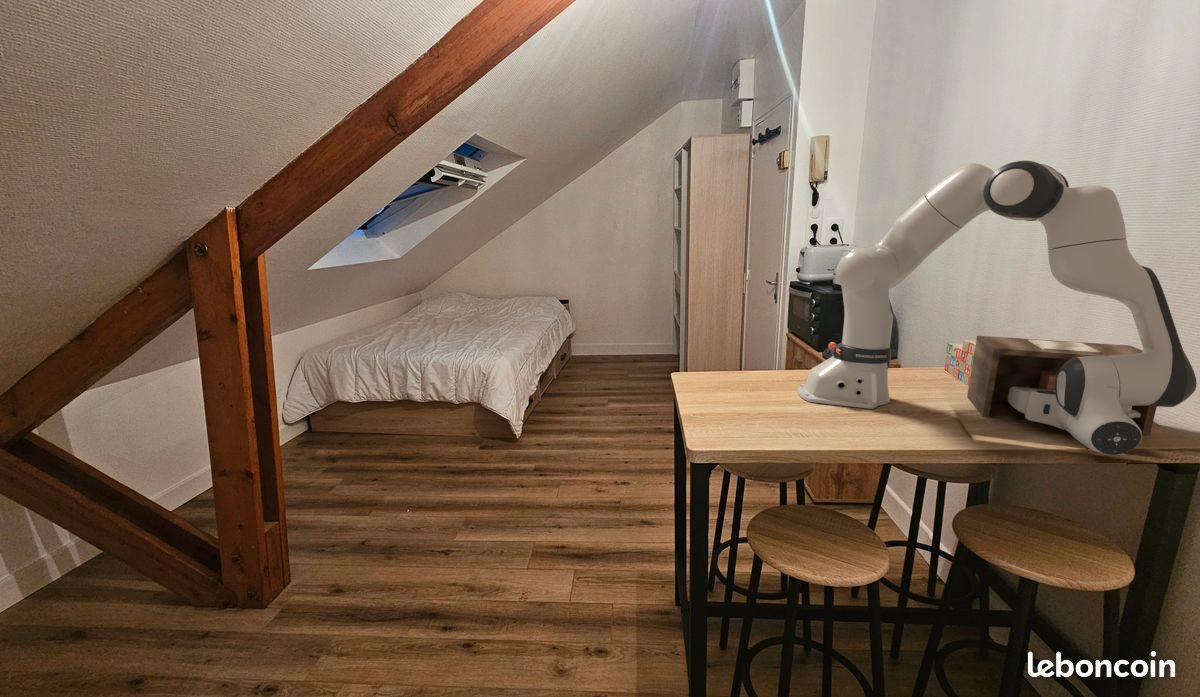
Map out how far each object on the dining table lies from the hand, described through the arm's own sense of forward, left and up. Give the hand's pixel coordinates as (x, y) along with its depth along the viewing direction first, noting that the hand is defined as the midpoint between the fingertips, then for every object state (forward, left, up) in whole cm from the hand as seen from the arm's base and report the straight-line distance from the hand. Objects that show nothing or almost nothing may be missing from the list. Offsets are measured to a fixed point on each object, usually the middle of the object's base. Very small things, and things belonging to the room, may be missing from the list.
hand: (1053, 392), depth 122 cm
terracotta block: (0, -1, -6) cm, 6 cm away
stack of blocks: (-3, +30, -7) cm, 31 cm away
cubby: (0, 0, -7) cm, 7 cm away
